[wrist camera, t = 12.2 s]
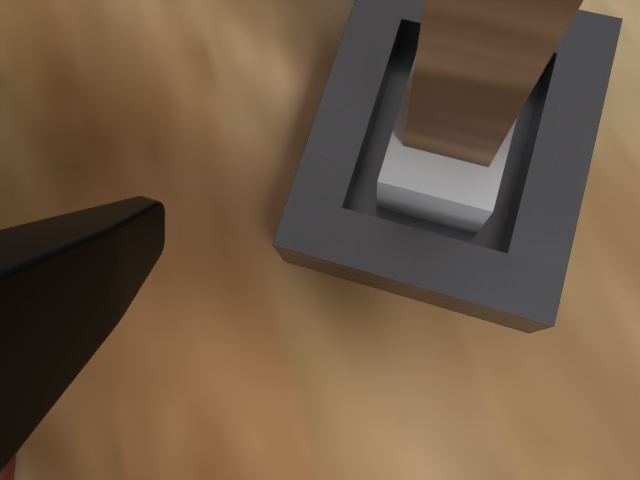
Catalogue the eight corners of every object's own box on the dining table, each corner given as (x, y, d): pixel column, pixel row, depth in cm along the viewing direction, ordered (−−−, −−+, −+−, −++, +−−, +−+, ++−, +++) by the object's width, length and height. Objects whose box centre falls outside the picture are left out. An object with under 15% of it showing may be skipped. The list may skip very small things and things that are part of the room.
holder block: (529, 333, 22) (554, 326, 19) (284, 261, 23) (272, 244, 20) (592, 61, 24) (622, 18, 21) (366, 12, 26) (366, -35, 23)
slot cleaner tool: (476, 234, 22) (637, 18, 9) (376, 206, 22) (386, -34, 9) (512, 96, 23) (699, -273, 10) (416, 74, 24) (473, -302, 11)
